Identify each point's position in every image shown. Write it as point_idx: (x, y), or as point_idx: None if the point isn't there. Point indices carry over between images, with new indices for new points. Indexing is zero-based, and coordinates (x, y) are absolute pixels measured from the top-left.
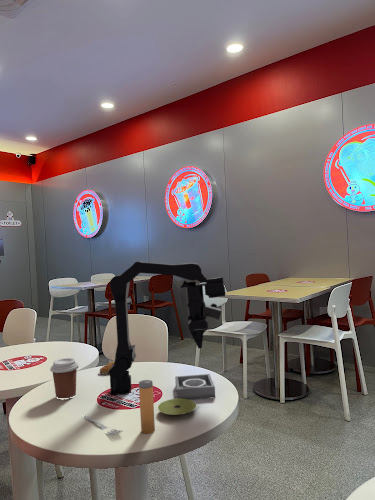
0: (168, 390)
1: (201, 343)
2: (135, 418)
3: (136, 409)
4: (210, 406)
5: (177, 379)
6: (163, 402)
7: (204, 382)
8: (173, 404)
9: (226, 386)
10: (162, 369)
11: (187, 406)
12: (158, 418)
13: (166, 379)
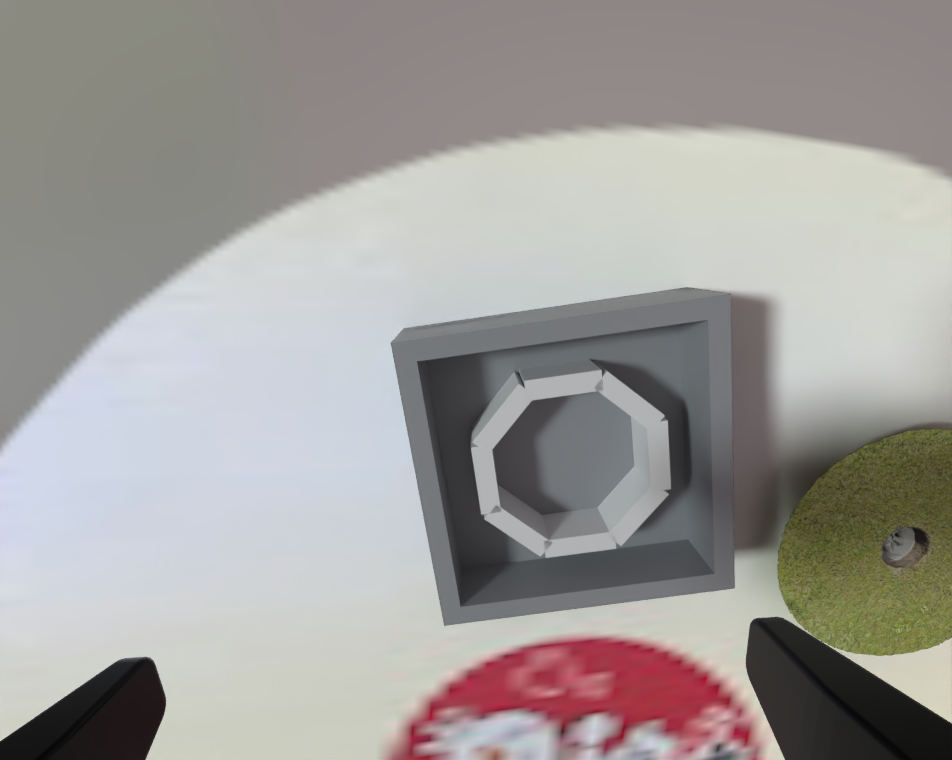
0: None
1: (909, 717)
2: None
3: None
4: (835, 324)
5: (516, 603)
6: (823, 633)
7: (575, 384)
8: (869, 572)
9: (468, 186)
10: None
11: (931, 485)
12: None
13: (304, 642)
